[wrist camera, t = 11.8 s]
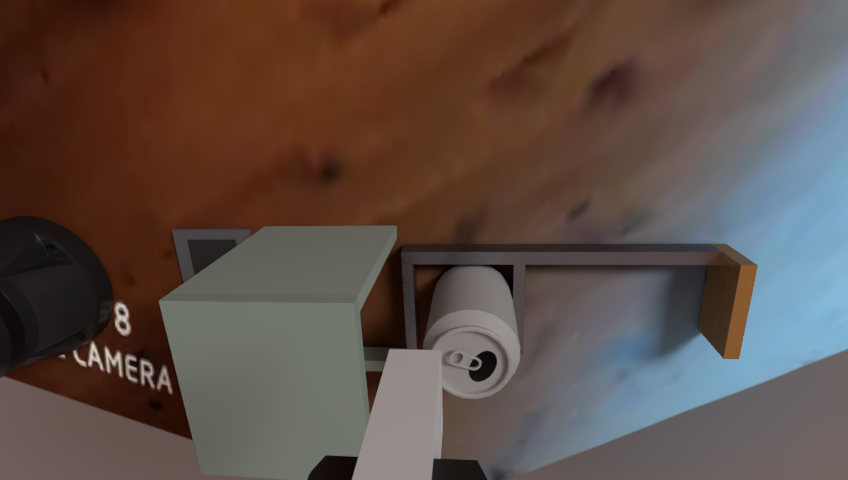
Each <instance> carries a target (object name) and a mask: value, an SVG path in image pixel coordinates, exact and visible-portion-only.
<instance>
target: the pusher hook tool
mask: <svg viewBox="0 0 848 480" xmlns="http://www.w3.org/2000/svg"><path fill="white" fill-rule="evenodd" d="M401 262H402V279H403V295H404V312H405V328H406V345H407V349H410V350H418V346H419V321H418V301H417V282H416V264H462V265H512V298H513V304H514V311H515V317H516V324H517V330H518V337H519V343H520V355H523V324H524V291H525V265H708V268H707V274H706V280H705V286H704V292H703V298H702V304H701V310H700V316H699V322H698V328H697V329H698V330H699V331H700V332H701V333H702V334H703V336H704V337H705V338H706V339H707V340H708V341H709V342H710V344H711V345H712V346H713V347H714V348H715V349H716V351H717V352H718V353H719V354H720V355H721V356H722V357H723V359H739V356H740V351H741V346H742V341H743V336H744V331H745V326H746V321H747V316H748V311H749V306H750V301H751V296H752V291H753V286H754V281H755V276H756V271H757V266H758V265H756V264H755V263H753V262H752V261H750V260H749V259H748V258H746V257H745V256H743V255H742V254H740V253H739V252H737V251H736V250H734V249H733V248H731V247H730V246H728V245H727V244H464V245H404V246H403V248H402V251H401Z"/></svg>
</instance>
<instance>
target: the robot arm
mask: <svg viewBox="0 0 848 480" xmlns="http://www.w3.org/2000/svg"><path fill="white" fill-rule="evenodd" d="M112 308H113V294H112V289H111V284H110V281H109V278H108V276H107V273H106V271H105V269H104V267H103V265H102V264H101V262H100V261H99V259H98V258H97V256H96V255H95V254H94V252H93V251H92V250H91V249H90V248H89V247H88V246H87V245H86V244H85V243H84V242H83V241H82V240H81V239H80V238H79V237H77V236H76V235H75V234H73V233H72V232H71V231H69V230H67V229H66V228H64V227H62V226H60V225H58V224H56V223H54V222H52V221H49V220H46V219H42V218H38V217H31V216H18V217H12V218H9V219H5V220H2V221H0V378H1V377H3V376H4V375H6V374H7V373H9V372H11V371H12V370H14V369H16V368H18V367H21V366H25V365H28V364H32V363H35V362H38V361H42V360H45V359H49V358H52V357H56V356H59V355H63V354H66V353H69V352H72V351H74V350H76V349H78V348H80V347H82V346H83V345H85V344H86V343H88V342H89V341H91V340H92V339H94V338H95V337H96V336H98V335H99V334H100V333H101V332H102V331H103V330H104V328H105V327H106V326H107V324H108V322H109V320H110V317H111V313H112ZM442 432H443V413H442V364H441V350H410V349H389V353H388V356H387V359H386V363H385V366H384V370H383V373H382V377H381V380H380V384H379V387H378V391H377V394H376V398H375V401H374V405H373V408H372V412H371V415H370V418H369V422H368V425H367V429H366V432H365V436H364V439H363V443H362V446H361V450H360V453H359V457H354V456H331V455H326V456H325V457H324V458H323V459H322V460H321V461H320V462H319V463H318V464H317V465H316V466H315V468H314V469H313V470H312V471H311V472H310V474H309V476H308V479H307V480H487V478H486V476H485V474H484V472H483V471H482V469H481V467H480V465H479V463H478V461H477V460H455V459H441V446H442Z"/></svg>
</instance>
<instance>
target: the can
mask: <svg viewBox="0 0 848 480" xmlns="http://www.w3.org/2000/svg"><path fill="white" fill-rule="evenodd" d="M423 350H441V364H442V389H444V390H446V391H447V392H449V393H450V394H452V395H455V396H458V397H461V398H465V399H480V398H484V397H488V396H491V395H493V394H494V393H496V392H498V391H500V390H501V389H502V388H503V387H504V386H505V385H506V384H507V382H508V381H509V379H510V378H511V377H512V376H513V375H514V374H515V371H516V369H517V367H518V364H519V362H520V343H519V337H518V330H517V324H516V317H515V311H514V304H513V298H512V293H511V290H510V287H509V284H508V282H507V281H506V279H505V278H504V277H503V276H502V274H501V273H499V272H498V271H496V270H495V269H493V268H492V267H490V266H487V265H462V264H461V265H457V266H454V267H452V268H451V269H449V270H448V271H446V272H445V273H444V274H443V275H442V277H441V278H440V279H439V280H438V282H437V284H436V287H435V290H434V294H433V299H432V303H431V308H430V313H429V318H428V323H427V328H426V332H425V337H424V342H423Z"/></svg>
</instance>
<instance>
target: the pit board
mask: <svg viewBox="0 0 848 480" xmlns="http://www.w3.org/2000/svg"><path fill="white" fill-rule="evenodd" d="M172 234H173V238H174V243H175V247H176V252H177V256H178V261H179V265H180V270H181V274H182V278H183V283H185V282H186V281H188V280H189V279H191V278H192V277H193V276H195V275H196V274H198V273H199V272H201V271H202V270H203V269H205V268H206V267H208V266H209V265H210V264H212V263H213V262H215V261H216V260H218V259H219V258H220V257H222V256H223V255H225V254H226V253H228V252H229V251H230V250H232V249H233V248H235V247H236V246H238V245H239V244H240V243H242V242H243V241H245V240H246V239H248V238H249V237H250V236H251V230H250V229H173V230H172Z"/></svg>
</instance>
